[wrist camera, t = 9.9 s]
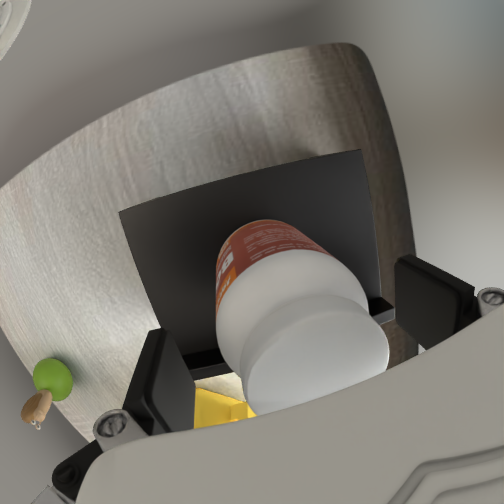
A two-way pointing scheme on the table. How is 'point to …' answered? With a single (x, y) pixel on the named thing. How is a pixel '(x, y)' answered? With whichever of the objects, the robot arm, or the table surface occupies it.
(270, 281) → the pill bottle
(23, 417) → the snail figurine
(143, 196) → the table surface
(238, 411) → the teapot
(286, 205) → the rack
